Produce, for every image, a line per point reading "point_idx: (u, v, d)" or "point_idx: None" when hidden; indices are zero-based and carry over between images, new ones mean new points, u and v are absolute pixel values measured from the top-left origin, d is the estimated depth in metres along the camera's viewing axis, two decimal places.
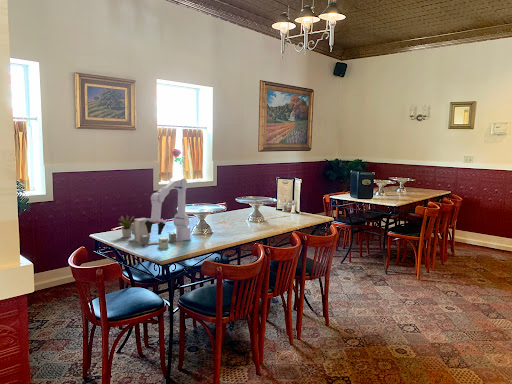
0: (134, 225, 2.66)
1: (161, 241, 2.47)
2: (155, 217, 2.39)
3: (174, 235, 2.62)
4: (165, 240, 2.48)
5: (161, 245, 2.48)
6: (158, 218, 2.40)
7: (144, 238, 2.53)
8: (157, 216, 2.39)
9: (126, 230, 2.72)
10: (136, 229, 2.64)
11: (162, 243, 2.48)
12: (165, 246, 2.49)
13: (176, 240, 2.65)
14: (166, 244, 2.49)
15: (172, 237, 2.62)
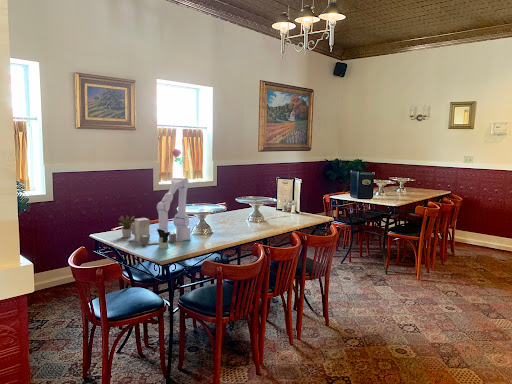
0: (134, 225, 2.66)
1: (161, 241, 2.47)
2: (160, 226, 2.46)
3: (174, 235, 2.62)
4: None
5: (161, 245, 2.48)
6: (163, 227, 2.46)
7: (144, 238, 2.53)
8: (161, 225, 2.46)
9: (126, 230, 2.72)
10: (136, 229, 2.64)
11: (162, 243, 2.48)
12: (165, 246, 2.49)
13: (176, 240, 2.65)
14: (166, 244, 2.49)
15: (172, 237, 2.62)
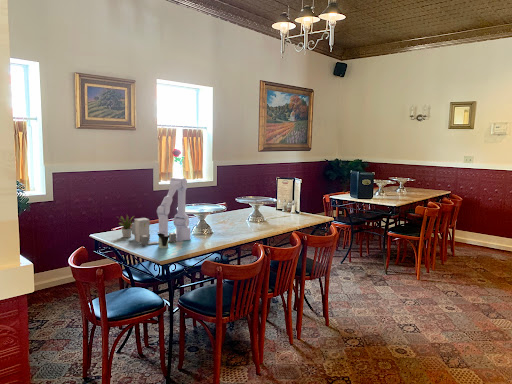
0: (134, 225, 2.66)
1: (161, 241, 2.47)
2: (160, 230, 2.47)
3: (174, 235, 2.62)
4: None
5: (161, 245, 2.48)
6: (163, 230, 2.47)
7: (144, 238, 2.53)
8: (161, 229, 2.46)
9: (126, 230, 2.72)
10: (136, 229, 2.64)
11: None
12: (165, 246, 2.49)
13: (176, 240, 2.65)
14: None
15: (172, 237, 2.62)
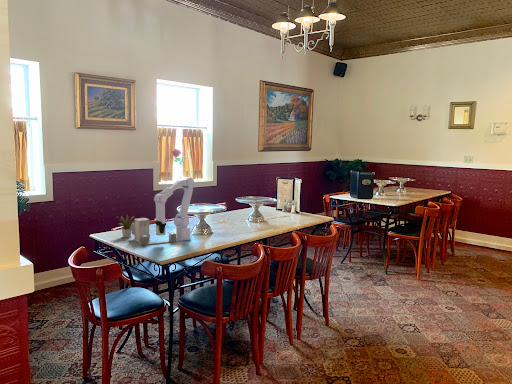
0: (134, 225, 2.66)
1: (158, 228, 2.52)
2: (157, 217, 2.52)
3: (174, 235, 2.62)
4: None
5: (158, 232, 2.53)
6: (160, 218, 2.52)
7: (144, 238, 2.53)
8: (159, 216, 2.51)
9: (126, 230, 2.72)
10: (136, 229, 2.64)
11: (159, 230, 2.53)
12: (162, 233, 2.54)
13: (176, 240, 2.65)
14: None
15: (172, 237, 2.62)
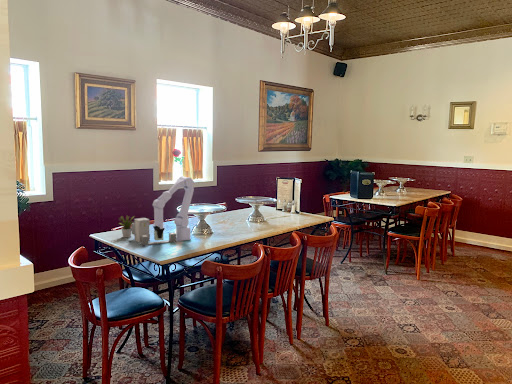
0: (134, 225, 2.66)
1: (156, 233, 2.56)
2: (155, 222, 2.56)
3: (174, 235, 2.62)
4: None
5: (156, 237, 2.57)
6: (158, 223, 2.56)
7: (144, 238, 2.53)
8: (157, 221, 2.56)
9: (126, 230, 2.72)
10: (136, 229, 2.64)
11: (157, 235, 2.57)
12: (160, 238, 2.58)
13: (176, 240, 2.65)
14: None
15: (172, 237, 2.62)
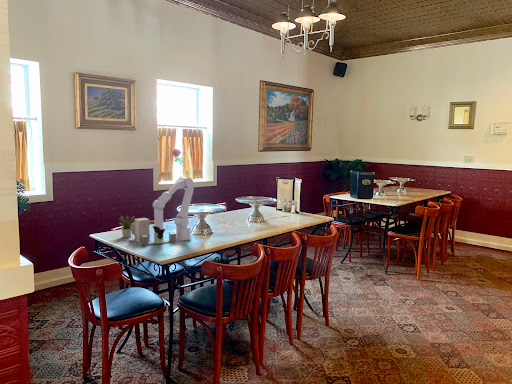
0: (134, 225, 2.66)
1: (156, 236, 2.57)
2: (155, 223, 2.56)
3: (174, 235, 2.62)
4: None
5: (156, 240, 2.57)
6: (158, 224, 2.56)
7: (144, 238, 2.53)
8: (157, 222, 2.56)
9: (126, 230, 2.72)
10: (136, 229, 2.64)
11: (157, 238, 2.57)
12: (160, 241, 2.58)
13: (176, 240, 2.65)
14: (161, 239, 2.58)
15: (172, 237, 2.62)
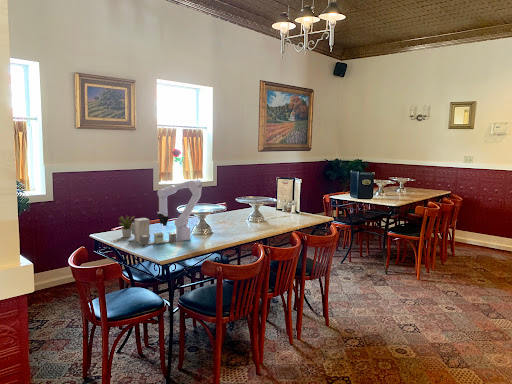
0: (134, 225, 2.66)
1: (156, 236, 2.57)
2: (160, 210, 2.71)
3: (174, 235, 2.62)
4: (160, 235, 2.58)
5: (156, 240, 2.57)
6: (163, 211, 2.71)
7: (144, 238, 2.53)
8: (161, 209, 2.70)
9: (126, 230, 2.72)
10: (136, 229, 2.64)
11: (157, 238, 2.57)
12: (160, 241, 2.58)
13: (176, 240, 2.65)
14: (161, 239, 2.58)
15: (172, 237, 2.62)
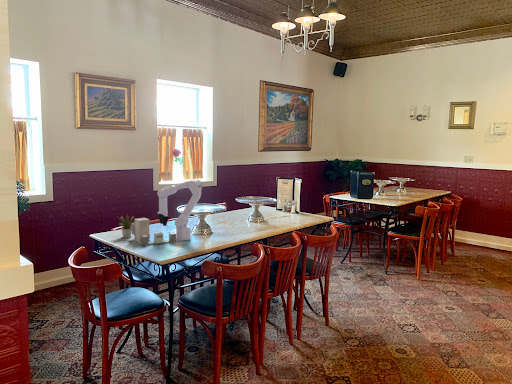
0: (134, 225, 2.66)
1: (156, 236, 2.57)
2: (160, 210, 2.71)
3: (174, 235, 2.62)
4: (160, 235, 2.58)
5: (156, 240, 2.57)
6: (163, 211, 2.71)
7: (144, 238, 2.53)
8: (161, 209, 2.71)
9: (126, 230, 2.72)
10: (136, 229, 2.64)
11: (157, 238, 2.57)
12: (160, 241, 2.58)
13: (176, 240, 2.65)
14: (161, 239, 2.58)
15: (172, 237, 2.62)
